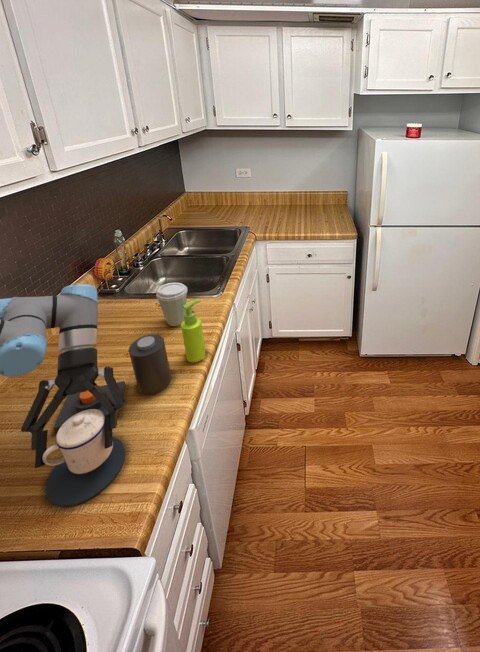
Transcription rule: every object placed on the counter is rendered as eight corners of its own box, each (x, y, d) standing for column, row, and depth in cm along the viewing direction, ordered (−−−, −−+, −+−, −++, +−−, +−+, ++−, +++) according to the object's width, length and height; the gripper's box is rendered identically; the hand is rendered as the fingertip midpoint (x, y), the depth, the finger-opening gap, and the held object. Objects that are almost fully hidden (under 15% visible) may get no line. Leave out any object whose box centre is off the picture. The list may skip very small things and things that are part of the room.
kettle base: (55, 433, 83) (51, 422, 82) (70, 398, 93) (66, 388, 91) (118, 417, 87) (115, 406, 86) (126, 385, 97) (123, 375, 96)
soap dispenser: (211, 352, 110) (204, 301, 103) (194, 365, 105) (185, 312, 97) (200, 345, 113) (192, 295, 106) (182, 357, 108) (173, 305, 100)
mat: (34, 518, 66) (33, 516, 66) (60, 449, 79) (59, 447, 79) (118, 491, 71) (117, 490, 71) (130, 430, 84) (129, 428, 84)
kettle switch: (79, 406, 86) (77, 400, 86) (83, 394, 90) (81, 388, 89) (97, 402, 88) (95, 396, 87) (100, 390, 91) (98, 384, 90)
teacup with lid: (111, 428, 81) (99, 393, 76) (117, 458, 74) (105, 421, 70) (49, 459, 74) (33, 422, 69) (51, 495, 67) (33, 456, 63)
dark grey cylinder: (136, 398, 93) (124, 356, 87) (141, 370, 102) (131, 330, 97) (170, 390, 96) (162, 348, 90) (172, 363, 105) (165, 324, 100)
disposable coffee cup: (178, 310, 132) (172, 277, 126) (198, 317, 127) (193, 283, 122) (155, 325, 123) (148, 290, 117) (176, 333, 119) (170, 298, 113)
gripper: (138, 341, 85) (142, 436, 77) (25, 363, 77) (16, 471, 70) (131, 337, 78) (133, 441, 70) (6, 361, 71) (-7, 481, 63)
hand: (75, 456), depth 70 cm, fingers closed on teacup with lid, 12 cm apart
